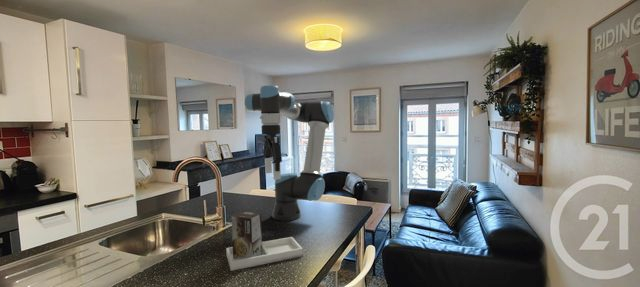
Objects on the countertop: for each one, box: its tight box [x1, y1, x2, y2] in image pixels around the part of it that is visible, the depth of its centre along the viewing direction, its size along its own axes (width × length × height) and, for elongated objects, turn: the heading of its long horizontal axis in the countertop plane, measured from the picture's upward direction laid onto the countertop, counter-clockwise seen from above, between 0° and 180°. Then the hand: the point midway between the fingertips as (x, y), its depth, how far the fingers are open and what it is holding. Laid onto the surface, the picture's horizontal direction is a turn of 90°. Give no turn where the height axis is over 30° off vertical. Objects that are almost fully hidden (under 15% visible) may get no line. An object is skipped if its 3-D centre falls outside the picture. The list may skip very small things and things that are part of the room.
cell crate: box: [225, 236, 304, 272], centre depth 111 cm, size 13×26×3 cm, turn 114°
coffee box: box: [231, 211, 263, 259], centre depth 109 cm, size 9×6×16 cm
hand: (272, 176), depth 121 cm, fingers open, 13 cm apart
